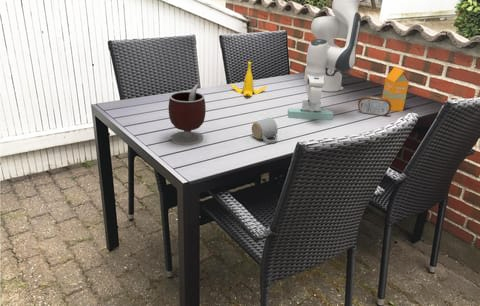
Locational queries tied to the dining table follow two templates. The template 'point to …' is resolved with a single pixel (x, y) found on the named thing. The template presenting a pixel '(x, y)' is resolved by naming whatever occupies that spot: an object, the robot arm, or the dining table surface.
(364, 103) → the tin
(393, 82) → the orange juice
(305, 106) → the white block
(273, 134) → the ceramic mug
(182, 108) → the mate gourd
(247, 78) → the banana peel
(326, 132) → the dining table surface
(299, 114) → the rail
